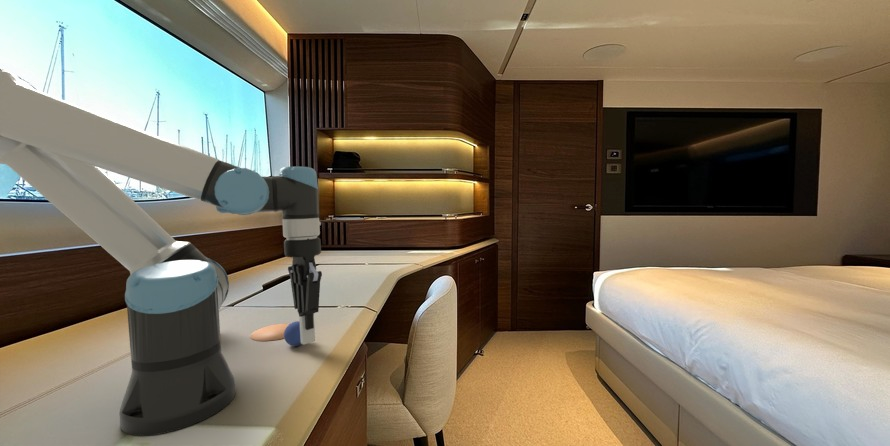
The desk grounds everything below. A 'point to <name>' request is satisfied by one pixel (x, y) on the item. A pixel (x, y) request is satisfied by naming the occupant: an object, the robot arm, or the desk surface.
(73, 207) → the robot arm
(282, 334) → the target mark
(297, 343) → the ball
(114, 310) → the desk surface
